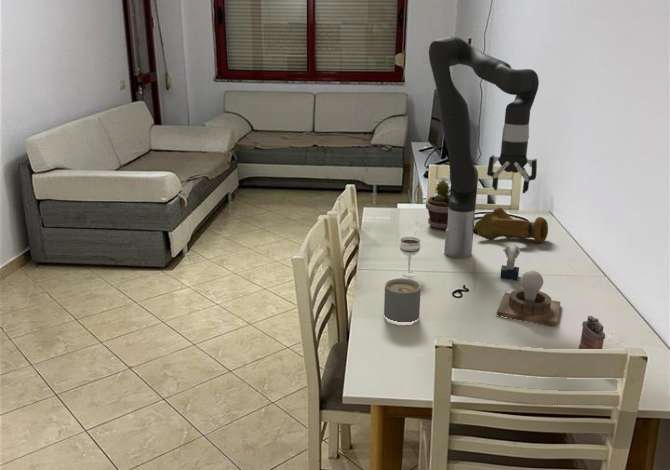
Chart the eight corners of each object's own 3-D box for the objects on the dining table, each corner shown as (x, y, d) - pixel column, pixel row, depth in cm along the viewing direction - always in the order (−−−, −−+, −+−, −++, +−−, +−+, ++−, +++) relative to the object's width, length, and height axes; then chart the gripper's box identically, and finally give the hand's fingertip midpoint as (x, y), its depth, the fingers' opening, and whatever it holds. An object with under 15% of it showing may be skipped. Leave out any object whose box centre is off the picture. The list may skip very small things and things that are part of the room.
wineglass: (423, 274, 198) (424, 240, 194) (410, 280, 193) (412, 245, 189) (406, 268, 202) (408, 235, 198) (394, 274, 197) (395, 240, 193)
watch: (518, 273, 198) (522, 242, 194) (517, 283, 191) (520, 251, 187) (501, 271, 200) (504, 240, 196) (499, 280, 192) (502, 249, 189)
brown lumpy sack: (575, 347, 153) (580, 312, 149) (588, 346, 153) (593, 311, 150) (590, 364, 145) (596, 327, 142) (604, 363, 145) (610, 327, 142)
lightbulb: (541, 312, 168) (545, 276, 164) (518, 310, 169) (522, 274, 166) (538, 302, 174) (543, 268, 170) (517, 300, 175) (521, 266, 171)
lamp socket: (496, 316, 169) (497, 302, 167) (504, 296, 181) (505, 283, 179) (555, 327, 163) (557, 312, 161) (559, 306, 175) (561, 292, 173)
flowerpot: (464, 232, 237) (468, 184, 230) (426, 232, 237) (428, 184, 230) (458, 221, 251) (461, 175, 244) (421, 221, 251) (424, 175, 244)
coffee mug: (418, 327, 163) (420, 294, 160) (382, 324, 164) (383, 291, 161) (419, 305, 175) (421, 274, 172) (386, 303, 177) (387, 272, 174)
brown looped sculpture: (496, 209, 242) (550, 210, 228) (494, 240, 242) (548, 243, 228) (476, 205, 228) (531, 206, 214) (473, 238, 228) (529, 241, 214)
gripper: (488, 138, 176) (484, 191, 182) (538, 142, 171) (532, 196, 176) (493, 134, 183) (488, 185, 188) (541, 138, 177) (535, 190, 183)
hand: (509, 191), depth 182 cm, fingers open, 8 cm apart
